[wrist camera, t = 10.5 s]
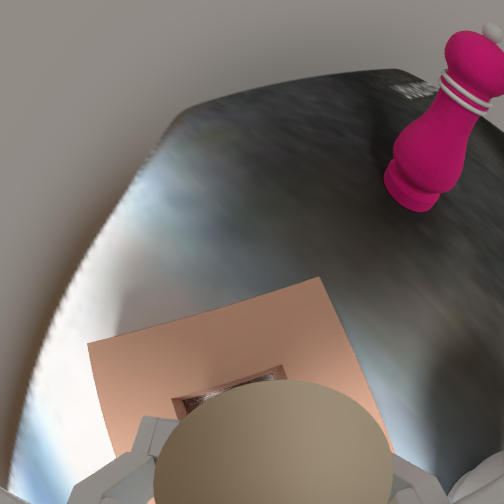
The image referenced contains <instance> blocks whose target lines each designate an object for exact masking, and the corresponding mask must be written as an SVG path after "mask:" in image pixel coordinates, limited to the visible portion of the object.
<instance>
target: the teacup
mask: <svg viewBox="0 0 504 504" xmlns="http://www.w3.org/2000/svg"><path fill="white" fill-rule="evenodd" d="M503 473H504V450H502V451H500V452H498V453H496V454H493V455H492V456H490V457H488V458H487V459H485V460H484V461H483V462H482V463H480V464H479V465H478V466H477V467H476V468H475V469H474V470H471V471H469V472H467V473H466V474H464V475H463V476H462V477H461V478H460V479H459V480H458V481H457V482H456V483H455V485H454V486H453V487H452V489H451V490H450V492H449V494H448V496H447V498H448V499H449V501H450V503H453V502H455V501H457V500H459V499H461V498H463V497H465V496H467V495H469V494H470V493H472V492H474V491H476V490H478V489H479V488H481V487H483V486H484V485H486V484H488V483H489V482H491V481H493V480H494V479H496V478H497V477H499V476H500V475H502V474H503Z"/></svg>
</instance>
